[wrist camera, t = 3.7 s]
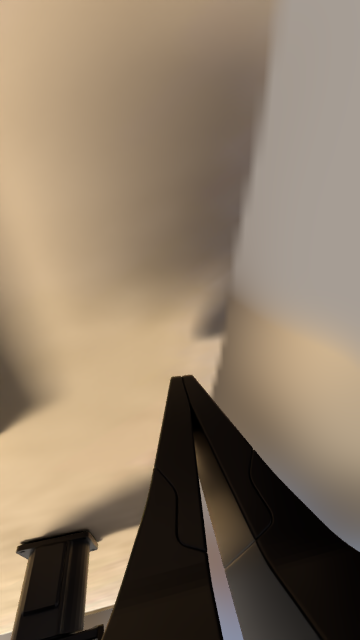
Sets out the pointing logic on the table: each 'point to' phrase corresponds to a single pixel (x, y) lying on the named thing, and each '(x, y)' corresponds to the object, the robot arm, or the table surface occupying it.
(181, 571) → the robot arm
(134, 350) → the table surface
